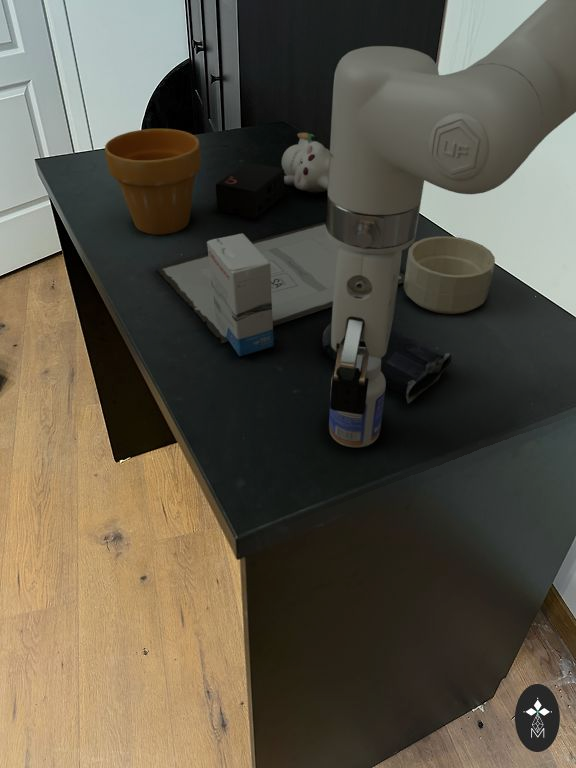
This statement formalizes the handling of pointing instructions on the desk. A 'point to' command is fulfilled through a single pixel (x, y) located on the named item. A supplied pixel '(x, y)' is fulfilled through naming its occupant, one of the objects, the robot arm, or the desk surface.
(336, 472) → the desk surface
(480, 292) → the basin
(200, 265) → the picture frame
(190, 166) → the flower pot
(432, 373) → the black pouch
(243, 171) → the electronic device
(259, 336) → the ink box
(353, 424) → the pill bottle
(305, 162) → the cat figurine
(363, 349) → the robot arm
